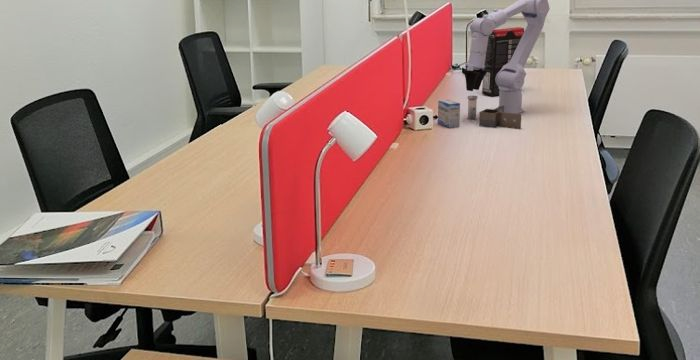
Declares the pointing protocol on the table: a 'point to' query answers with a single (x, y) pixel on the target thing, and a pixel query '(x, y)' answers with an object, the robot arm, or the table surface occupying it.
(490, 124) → the dark brown block
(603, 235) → the table surface
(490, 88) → the graphics card box
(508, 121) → the brown open box
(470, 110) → the grey metal cylinder
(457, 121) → the medicine box
